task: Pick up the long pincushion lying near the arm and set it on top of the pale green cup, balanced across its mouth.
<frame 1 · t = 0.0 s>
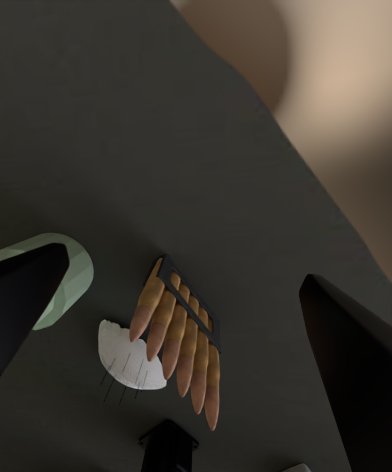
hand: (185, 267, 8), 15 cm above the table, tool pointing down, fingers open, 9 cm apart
pale green cup: (58, 267, 26), on the table
pincushion: (136, 350, 29), on the table
ammunition clip: (187, 291, 26), on the table
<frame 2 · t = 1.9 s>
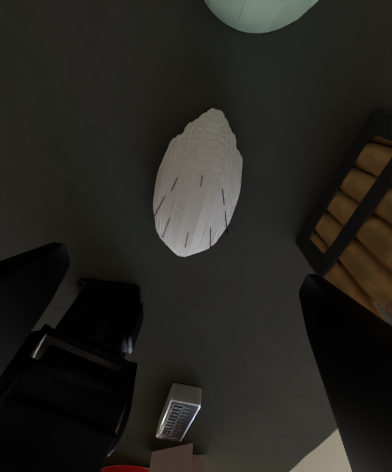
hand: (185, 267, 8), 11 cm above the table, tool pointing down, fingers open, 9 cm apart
greeting card: (177, 447, 47), on the table
pincushion: (196, 192, 18), on the table
ammunition clip: (338, 188, 17), on the table
multiport hub: (178, 405, 37), on the table
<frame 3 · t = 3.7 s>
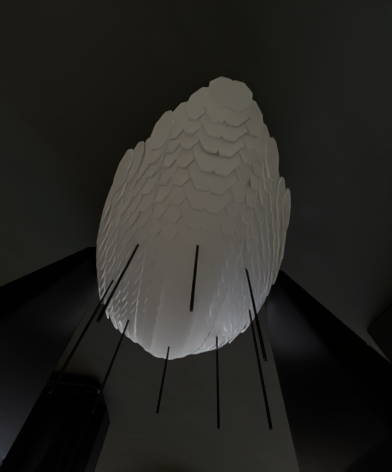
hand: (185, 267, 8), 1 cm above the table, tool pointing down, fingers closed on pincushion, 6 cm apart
pincushion: (187, 249, 9), on the table, touching gripper
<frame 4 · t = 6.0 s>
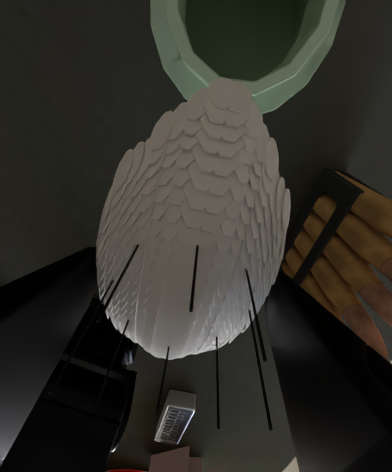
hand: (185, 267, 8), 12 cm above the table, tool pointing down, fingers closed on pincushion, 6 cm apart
pale green cup: (233, 41, 14), on the table
greeting card: (174, 450, 50), on the table
pincushion: (187, 249, 9), point 11 cm above the table, touching gripper
ammunition clip: (303, 225, 21), on the table
multiport hub: (175, 409, 40), on the table
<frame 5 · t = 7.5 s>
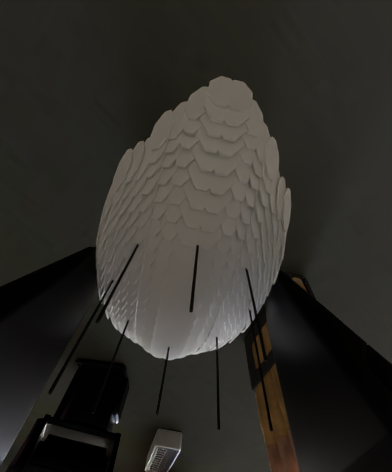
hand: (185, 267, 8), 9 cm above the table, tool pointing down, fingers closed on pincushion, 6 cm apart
pincushion: (187, 249, 9), point 8 cm above the table, touching gripper
ammunition clip: (271, 311, 23), on the table
multiport hub: (163, 443, 43), on the table
when the fingers open (8 cm above the table, at t = 8.3 s): pincushion stays where it is, resting on pale green cup.
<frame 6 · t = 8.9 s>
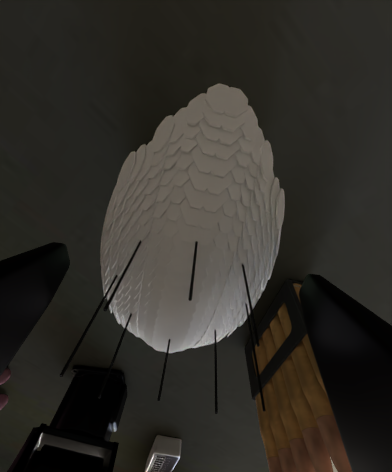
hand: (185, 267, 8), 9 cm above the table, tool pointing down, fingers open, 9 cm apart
pincushion: (187, 247, 10), point 7 cm above the table, touching pale green cup
ammunition clip: (271, 318, 22), on the table
multiport hub: (162, 450, 42), on the table
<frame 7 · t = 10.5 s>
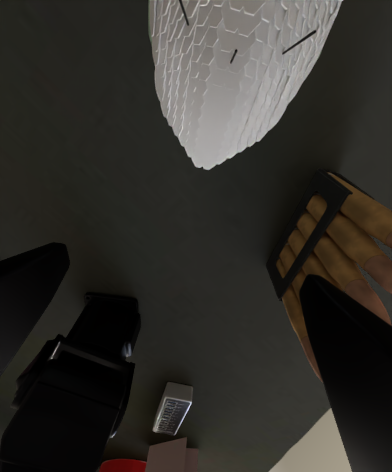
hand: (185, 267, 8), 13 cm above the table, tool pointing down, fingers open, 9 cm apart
greeting card: (172, 441, 51), on the table
pincushion: (240, 10, 9), point 7 cm above the table, touching pale green cup
ammunition clip: (297, 224, 21), on the table
toy clock: (136, 470, 64), on the table
multiport hub: (172, 401, 41), on the table
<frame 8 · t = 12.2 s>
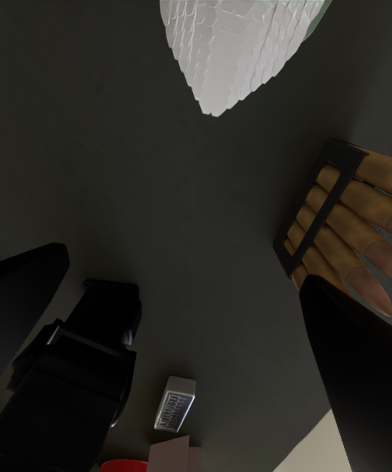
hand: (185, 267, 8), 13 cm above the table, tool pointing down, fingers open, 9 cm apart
greeting card: (174, 440, 50), on the table
ammunition clip: (305, 201, 20), on the table
toy clock: (137, 471, 62), on the table
multiport hub: (174, 397, 40), on the table
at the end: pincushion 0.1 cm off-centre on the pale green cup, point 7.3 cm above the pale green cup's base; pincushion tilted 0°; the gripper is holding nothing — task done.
